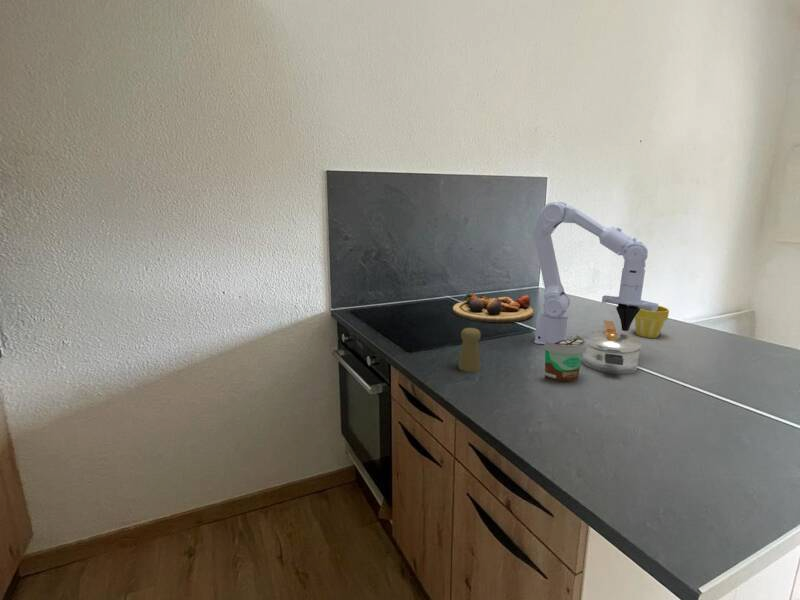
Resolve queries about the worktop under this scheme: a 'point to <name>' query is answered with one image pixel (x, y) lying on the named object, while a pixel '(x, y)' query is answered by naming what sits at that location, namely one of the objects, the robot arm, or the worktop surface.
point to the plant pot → (650, 321)
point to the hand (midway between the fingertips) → (625, 330)
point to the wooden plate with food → (494, 309)
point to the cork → (470, 350)
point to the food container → (564, 359)
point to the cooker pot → (610, 360)
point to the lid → (612, 340)
